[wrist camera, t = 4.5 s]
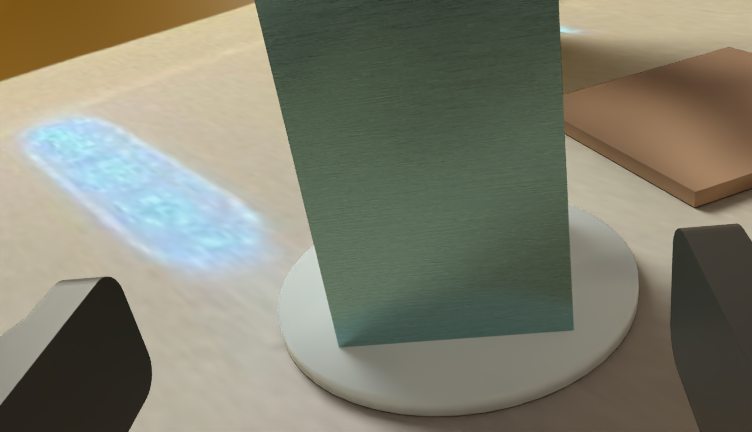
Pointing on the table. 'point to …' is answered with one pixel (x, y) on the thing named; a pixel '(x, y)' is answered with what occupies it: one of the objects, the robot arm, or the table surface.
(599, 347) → the saucer
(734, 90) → the mat
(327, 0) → the cover
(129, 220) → the table surface
